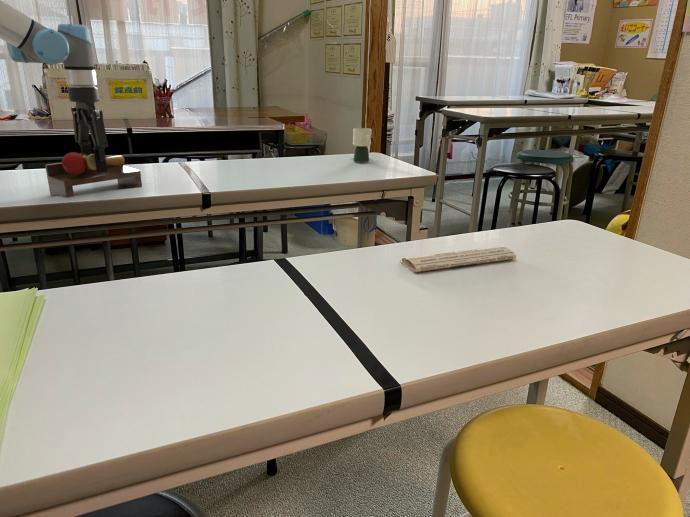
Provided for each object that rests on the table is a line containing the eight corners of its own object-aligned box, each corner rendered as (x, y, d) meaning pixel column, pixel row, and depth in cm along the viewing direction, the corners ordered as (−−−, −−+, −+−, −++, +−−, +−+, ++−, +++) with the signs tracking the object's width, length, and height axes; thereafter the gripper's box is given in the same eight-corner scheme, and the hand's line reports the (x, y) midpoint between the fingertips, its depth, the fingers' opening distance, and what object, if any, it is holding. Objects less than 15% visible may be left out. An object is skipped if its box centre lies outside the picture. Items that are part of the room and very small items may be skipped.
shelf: (67, 201, 140) (62, 170, 136) (50, 194, 146) (44, 164, 143) (142, 188, 155) (139, 160, 152) (123, 182, 162) (120, 155, 159)
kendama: (112, 168, 158) (54, 169, 143) (114, 147, 156) (55, 147, 140) (128, 176, 155) (71, 178, 139) (130, 155, 152) (72, 155, 137)
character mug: (375, 164, 202) (377, 130, 198) (359, 165, 199) (361, 131, 195) (362, 159, 211) (363, 126, 207) (347, 160, 208) (348, 127, 204)
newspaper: (415, 274, 98) (416, 265, 98) (398, 261, 104) (399, 253, 104) (515, 260, 107) (517, 252, 106) (494, 249, 113) (495, 241, 112)
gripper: (114, 88, 137) (125, 173, 145) (79, 84, 149) (91, 163, 157) (86, 88, 131) (99, 177, 139) (52, 84, 143) (66, 166, 151)
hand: (95, 169), depth 148 cm, fingers closed on kendama, 7 cm apart
